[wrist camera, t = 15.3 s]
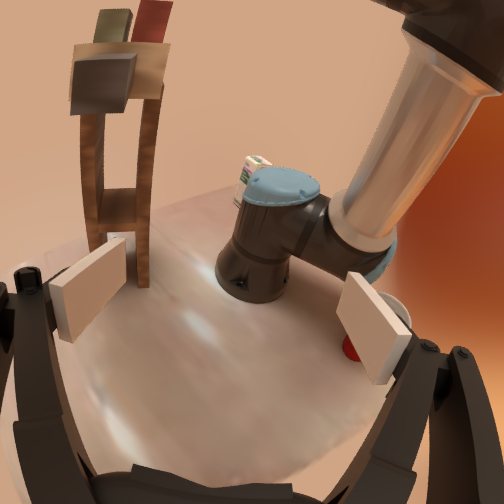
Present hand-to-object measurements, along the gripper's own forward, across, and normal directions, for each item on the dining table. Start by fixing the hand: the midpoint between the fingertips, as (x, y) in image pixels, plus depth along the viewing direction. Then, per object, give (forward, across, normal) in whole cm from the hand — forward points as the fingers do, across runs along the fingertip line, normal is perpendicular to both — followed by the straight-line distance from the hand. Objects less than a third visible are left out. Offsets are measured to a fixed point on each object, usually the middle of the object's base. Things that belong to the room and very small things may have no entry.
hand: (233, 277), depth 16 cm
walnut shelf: (+32, -22, -16) cm, 42 cm away
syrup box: (+64, +1, -6) cm, 65 cm away
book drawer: (+7, -12, +11) cm, 18 cm away
